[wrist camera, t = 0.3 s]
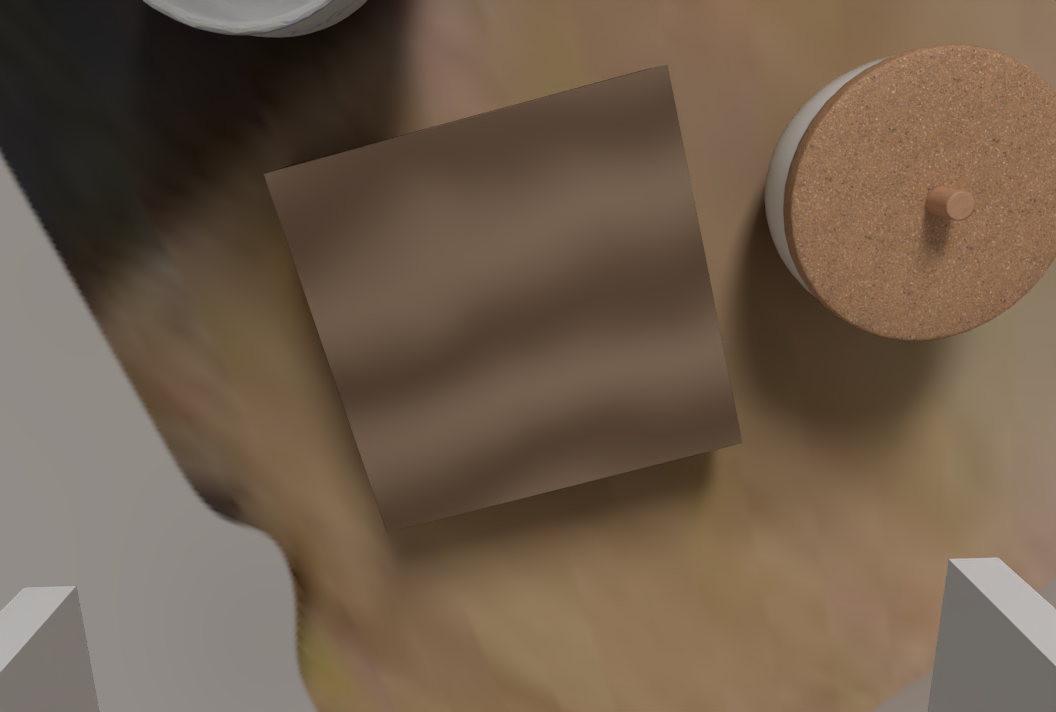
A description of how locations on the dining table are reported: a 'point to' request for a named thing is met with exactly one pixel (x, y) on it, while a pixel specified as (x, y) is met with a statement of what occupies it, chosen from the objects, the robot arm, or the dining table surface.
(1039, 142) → the lidded jar
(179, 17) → the teacup
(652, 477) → the dining table surface
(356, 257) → the walnut block
